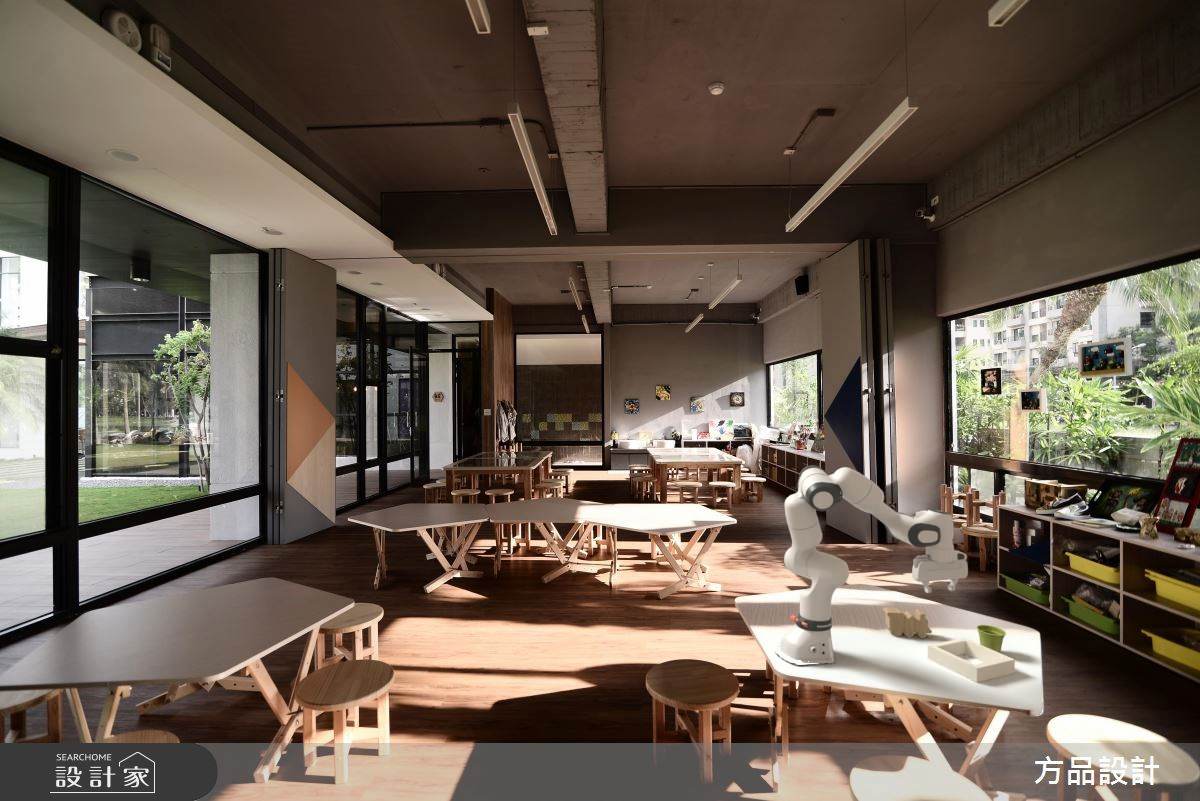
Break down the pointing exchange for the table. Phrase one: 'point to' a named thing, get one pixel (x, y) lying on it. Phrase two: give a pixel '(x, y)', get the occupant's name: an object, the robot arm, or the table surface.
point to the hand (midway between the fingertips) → (939, 591)
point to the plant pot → (991, 637)
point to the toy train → (906, 622)
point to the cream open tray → (948, 658)
